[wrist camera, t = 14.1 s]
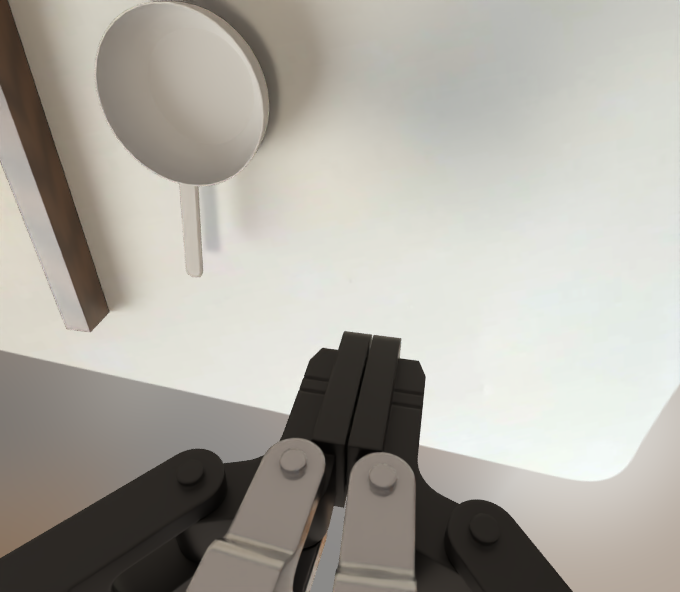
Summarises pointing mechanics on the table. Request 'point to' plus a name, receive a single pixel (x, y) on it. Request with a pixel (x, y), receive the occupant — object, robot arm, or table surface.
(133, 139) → the saucepan
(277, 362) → the table surface
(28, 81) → the walnut rail
